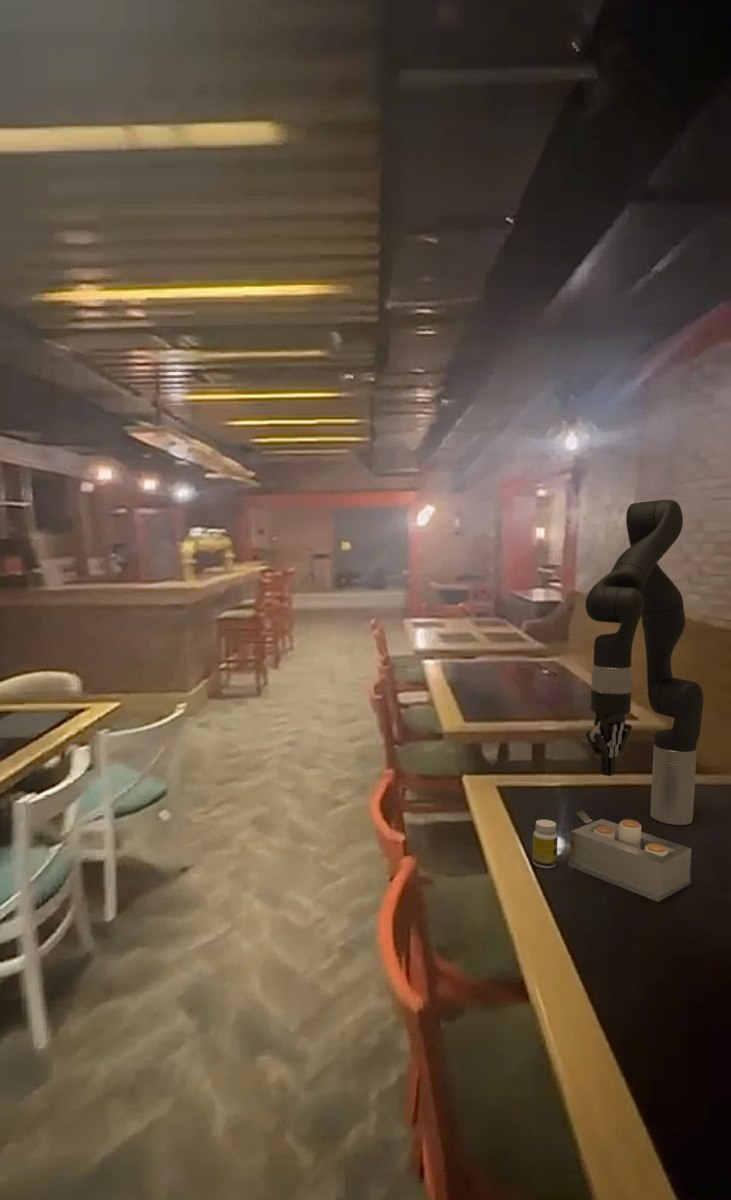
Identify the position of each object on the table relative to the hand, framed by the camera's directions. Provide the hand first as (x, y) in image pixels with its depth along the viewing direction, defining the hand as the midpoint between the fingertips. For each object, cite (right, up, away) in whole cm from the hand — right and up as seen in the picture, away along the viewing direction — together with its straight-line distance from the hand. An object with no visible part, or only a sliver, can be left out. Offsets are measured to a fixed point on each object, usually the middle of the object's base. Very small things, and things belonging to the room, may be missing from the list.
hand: (607, 774), depth 146 cm
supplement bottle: (-12, -18, +1) cm, 22 cm away
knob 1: (0, -17, +1) cm, 17 cm away
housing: (+3, -19, -3) cm, 19 cm away
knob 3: (+7, -18, -7) cm, 20 cm away
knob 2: (+3, -14, -3) cm, 15 cm away
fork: (+7, -18, +21) cm, 28 cm away
